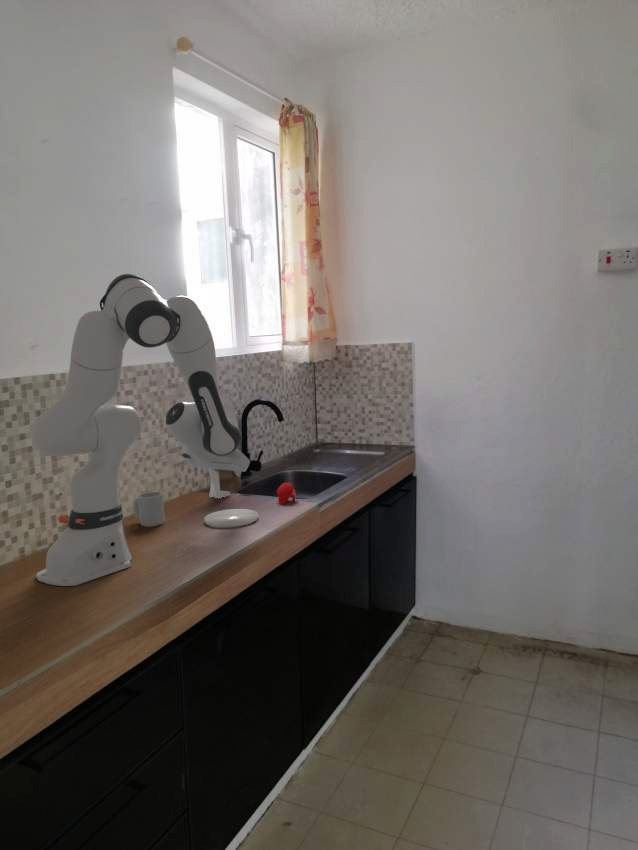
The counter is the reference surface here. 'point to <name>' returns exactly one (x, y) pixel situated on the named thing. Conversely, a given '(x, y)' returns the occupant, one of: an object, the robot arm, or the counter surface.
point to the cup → (150, 509)
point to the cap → (286, 493)
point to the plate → (231, 518)
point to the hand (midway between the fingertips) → (230, 473)
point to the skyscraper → (216, 486)
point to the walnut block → (229, 481)
